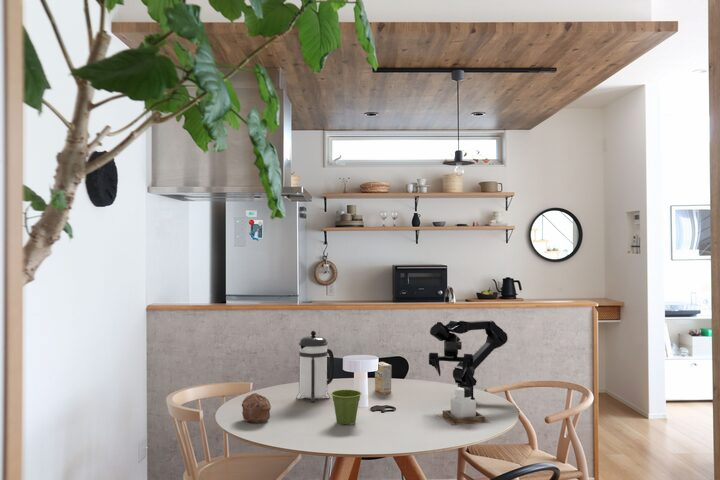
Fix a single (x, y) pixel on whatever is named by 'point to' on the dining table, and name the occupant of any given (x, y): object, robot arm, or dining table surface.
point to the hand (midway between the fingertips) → (451, 376)
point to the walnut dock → (462, 418)
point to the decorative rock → (256, 408)
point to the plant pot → (346, 405)
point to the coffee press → (314, 367)
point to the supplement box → (383, 378)
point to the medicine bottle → (463, 403)
